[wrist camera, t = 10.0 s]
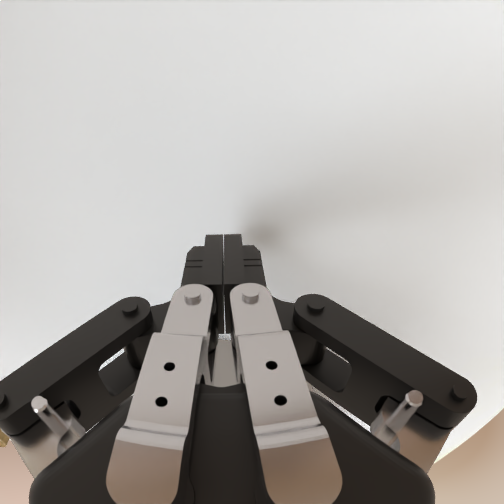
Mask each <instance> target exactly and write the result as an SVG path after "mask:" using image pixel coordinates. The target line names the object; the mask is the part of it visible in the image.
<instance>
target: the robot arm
mask: <svg viewBox="0 0 504 504" xmlns="http://www.w3.org/2000/svg"><path fill="white" fill-rule="evenodd" d="M224 302H225V324H226V334H230V333H231V346H232V357H233V364H234V371H235V378H236V385H231V386H227V387H216V386H214V377H215V368H216V359H217V344H218V334H224ZM326 347H328V348H329V349H331V350H332V351H334V352H335V353H337V354H338V355H340V356H341V357H343V358H344V359H346V360H347V361H348V362H349V363H350V364H349V363H347V362H346V361H344V360H343V359H341V358H340V357H338V356H337V355H335V354H334V353H332V352H331V351H329V350H328V349H326ZM122 348H124V351H125V352H124V353H122V354H121V355H120V356H118V357H117V358H116V359H114V360H113V361H112V362H110V363H109V364H108V365H106V366H105V367H104V368H102V369H101V370H100V371H99V368H100V366H101V365H102V364H103V363H104V362H105V361H106V360H108V359H109V358H110V357H112V356H113V355H114V354H116V353H117V352H118V351H120V350H121V349H122ZM306 381H307V382H308V383H310V384H311V385H312V386H314V387H315V388H316V389H318V390H319V391H321V392H322V393H323V394H325V395H326V396H327V397H329V398H330V399H332V400H333V401H334V402H336V403H337V404H339V405H340V406H341V407H343V408H344V409H346V410H347V411H349V412H350V413H351V414H353V415H354V416H356V417H357V418H359V419H360V420H362V421H363V422H365V423H366V424H368V425H369V426H370V431H371V433H370V432H369V431H367V430H366V429H365V428H363V427H362V426H361V425H359V424H358V423H357V422H355V421H354V420H353V419H351V418H350V417H349V416H347V415H346V414H345V413H343V412H342V411H341V410H339V409H338V408H337V407H335V406H334V405H333V404H332V403H330V402H329V401H328V400H326V399H325V398H323V397H322V396H320V395H318V394H316V393H314V392H312V391H309V389H308V386H307V383H306ZM132 394H134V395H133V396H131V395H132ZM130 396H131V397H130ZM476 403H477V393H476V390H475V388H474V386H473V385H472V384H471V383H470V382H469V381H468V380H467V379H465V378H464V377H462V376H460V375H459V374H457V373H455V372H453V371H452V370H450V369H448V368H447V367H445V366H443V365H441V364H440V363H438V362H436V361H435V360H433V359H431V358H429V357H428V356H426V355H424V354H423V353H421V352H419V351H417V350H416V349H414V348H412V347H411V346H409V345H407V344H405V343H404V342H402V341H400V340H399V339H397V338H395V337H394V336H392V335H390V334H388V333H387V332H385V331H383V330H382V329H380V328H378V327H376V326H375V325H373V324H371V323H370V322H368V321H366V320H365V319H363V318H361V317H359V316H358V315H356V314H354V313H353V312H351V311H349V310H347V309H346V308H344V307H342V306H341V305H339V304H337V303H336V302H334V301H332V300H330V299H329V298H327V297H325V296H322V295H318V294H307V295H304V296H301V297H300V298H298V299H297V300H296V302H295V303H289V302H284V301H281V300H278V299H276V298H274V297H273V296H272V295H271V293H270V291H269V290H268V289H267V287H266V282H265V276H264V271H263V266H262V260H261V255H260V251H259V250H258V249H257V248H256V247H255V246H254V245H243V246H242V237H241V234H224V255H223V235H206V237H205V245H204V246H194V247H193V248H192V249H191V250H190V251H189V252H188V253H187V258H186V263H185V268H184V273H183V278H182V283H181V287H180V288H179V289H177V290H176V291H175V292H174V294H173V296H172V299H171V301H169V302H167V303H164V304H160V305H156V306H151V307H150V304H149V302H148V301H147V300H146V299H144V298H141V297H127V298H124V299H122V300H120V301H118V302H117V303H115V304H114V305H112V306H110V307H109V308H107V309H106V310H104V311H103V312H101V313H100V314H98V315H97V316H95V317H94V318H92V319H91V320H89V321H88V322H86V323H85V324H83V325H82V326H80V327H79V328H77V329H76V330H74V331H73V332H71V333H70V334H68V335H67V336H65V337H64V338H62V339H61V340H59V341H58V342H56V343H55V344H53V345H52V346H50V347H49V348H47V349H46V350H44V351H43V352H42V353H40V354H39V355H37V356H36V357H34V358H33V359H31V360H30V361H28V362H27V363H26V364H24V365H23V366H21V367H20V368H18V369H17V370H16V371H14V372H13V373H11V374H10V375H8V376H7V377H6V378H4V379H3V380H1V381H0V429H1V430H2V432H3V433H5V434H6V435H7V436H8V437H9V438H10V439H11V441H12V443H13V445H14V446H15V448H16V450H17V452H18V453H19V455H20V457H21V458H22V460H23V462H24V463H25V465H26V467H27V468H28V470H29V471H30V473H31V474H32V476H33V478H34V481H33V483H32V485H31V488H30V494H29V504H435V492H434V488H433V484H432V482H431V480H430V478H429V477H428V475H427V473H428V471H429V470H430V468H431V466H432V465H433V463H434V461H435V460H436V458H437V456H438V454H439V452H440V451H441V449H442V447H443V445H444V443H445V441H446V440H447V438H448V436H449V434H450V432H451V431H452V430H453V429H454V428H455V427H456V426H457V425H458V424H459V423H460V422H461V421H462V420H463V419H464V418H465V417H466V416H467V415H468V414H469V413H470V411H471V410H472V409H473V408H474V407H475V405H476ZM99 421H100V422H99ZM98 422H99V423H98ZM94 425H95V426H94ZM93 426H94V427H93ZM92 427H93V428H92ZM91 428H92V429H91ZM89 429H91V430H89ZM88 430H89V431H88ZM87 431H88V432H87ZM86 432H87V433H86Z"/></svg>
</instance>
